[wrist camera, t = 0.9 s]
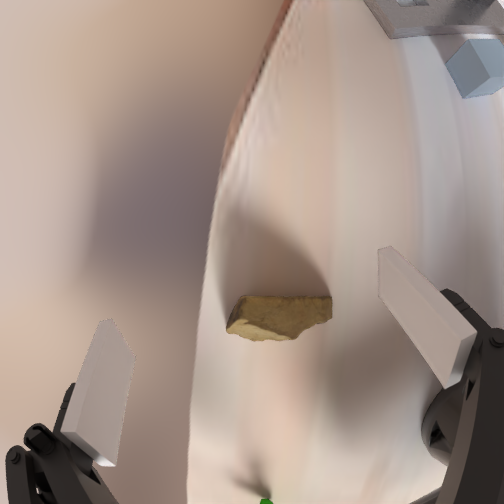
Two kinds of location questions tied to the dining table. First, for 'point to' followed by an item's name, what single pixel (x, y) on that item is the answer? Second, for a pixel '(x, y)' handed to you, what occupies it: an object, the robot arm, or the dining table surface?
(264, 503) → the flower
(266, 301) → the rock
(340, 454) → the dining table surface
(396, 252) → the robot arm
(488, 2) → the gray base set
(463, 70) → the light blue block
